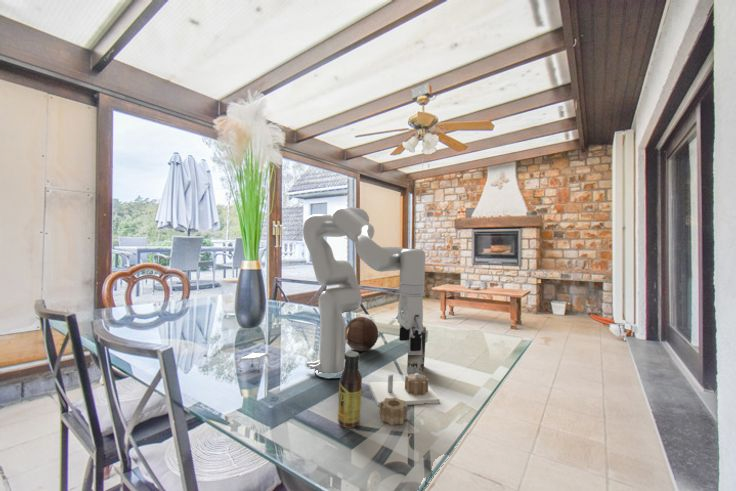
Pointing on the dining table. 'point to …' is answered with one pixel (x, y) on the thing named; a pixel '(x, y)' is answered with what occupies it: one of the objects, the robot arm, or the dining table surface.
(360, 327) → the wooden sphere
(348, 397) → the sauce bottle
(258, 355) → the origami figure
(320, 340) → the robot arm
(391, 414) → the beech gear
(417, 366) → the coffee box
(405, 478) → the dining table surface
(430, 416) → the dining table surface
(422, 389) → the gear board
